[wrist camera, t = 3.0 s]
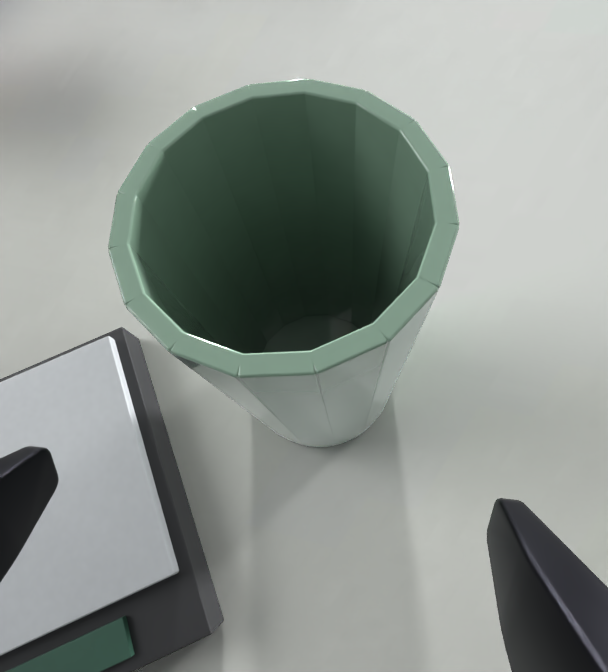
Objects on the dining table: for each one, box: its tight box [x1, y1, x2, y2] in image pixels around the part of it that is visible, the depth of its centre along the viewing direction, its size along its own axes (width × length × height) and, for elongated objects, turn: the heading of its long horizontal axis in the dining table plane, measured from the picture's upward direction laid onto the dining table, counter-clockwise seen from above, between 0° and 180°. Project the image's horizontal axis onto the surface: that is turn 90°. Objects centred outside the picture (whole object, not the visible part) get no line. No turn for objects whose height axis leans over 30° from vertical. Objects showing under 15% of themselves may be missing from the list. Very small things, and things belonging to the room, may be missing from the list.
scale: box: [0, 327, 224, 672], centre depth 19 cm, size 14×12×2 cm
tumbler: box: [108, 79, 459, 447], centre depth 15 cm, size 7×7×14 cm
